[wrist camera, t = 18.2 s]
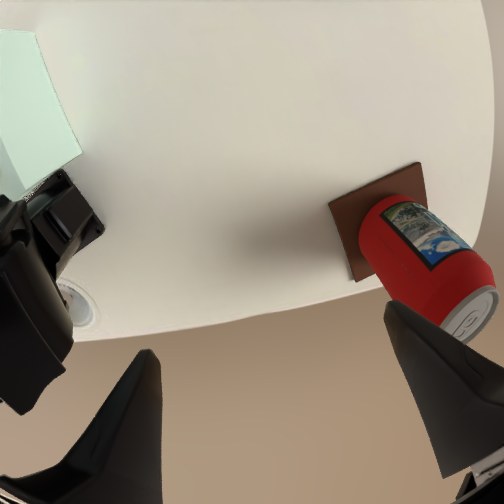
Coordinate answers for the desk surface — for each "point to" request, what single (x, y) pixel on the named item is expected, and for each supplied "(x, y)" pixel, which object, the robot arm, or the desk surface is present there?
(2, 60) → the l-shaped corner panel
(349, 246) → the mat
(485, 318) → the beverage can
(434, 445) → the robot arm
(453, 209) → the desk surface
